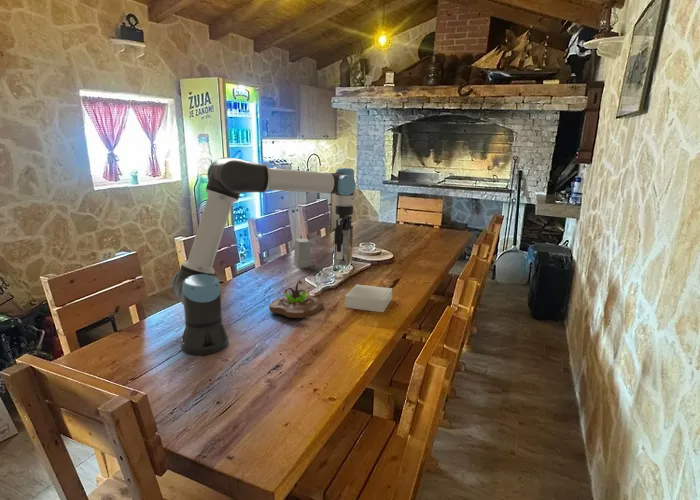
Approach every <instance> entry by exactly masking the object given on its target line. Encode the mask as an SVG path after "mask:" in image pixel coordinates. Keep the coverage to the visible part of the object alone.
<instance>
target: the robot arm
mask: <svg viewBox="0 0 700 500" xmlns="http://www.w3.org/2000/svg"><path fill="white" fill-rule="evenodd" d="M207 179H208V180H207V184H206V187H205V192H206V193H207V198H206V201H205V205H204V208H203V212H202V214H201V218H200V220H199V224H198V227H197V229H196V232H195V237H194V240H193V243H192V245H191V246H192V247H191V248H190V252H189V256H188V259H187V260H185V261H183V262H181V266H180V269H179V271H178V272H176V274H175V275H174V277H173V279H172V285H171V286H172V290H173V294H174V296H175V297H176V299H178V300H179V301H180V303H181V304H182V305H183V310H184V321H185V322H184V323H185V327H184V331H183V333H182V339H181V342H180V343H181V350H182V351H183V352H184V353H186V354H189V355H194V356H203V355H205V356H206V355H210V354H213V353H217V352H220V351H222V350H223V349H225V348H226V347H227V346H228V344H229V335H228V333H227V331H226V328H225V325H224V322H223V316H222V315H223V313H222V295H221V293H222V287H221V283H220V280H219V278H217V276H215V273H216V271H215V269H214V268H213V265H214V261H215V259H216V255H217V253H218V249H219V246H220V243H221V241H222V237H223V234H224V231H225V227H226V224H227V222H228V219H229V215H230V213H231V209H232V207H233V204H234V203H235V202H238V201H239V198H240V196H241V194H243V193H246V194H248V193H262V194H263V193H266V192H267V191H284V192H299V193H315V194H330V195H335V214H336V215H339V217H338V219H336V221H335V225H336V226H335V228H336V233H335V242H334V241H333V245H334V244H336V259H343V244H342V242H343V233H342V229H346V227H350V226H352V215H353V214H354V206H353V205H354V200H356V199H355V197H354V193H355V190H356V180H355V170H354V169H353V168H352V167H351V168H350V167H337V168H336V170H335V172H320V171H319V172H318V171H309V170H308V171H307V170H300V169H299V170H297V169H288V168H275V167H268V166H267V164H264V163H257V162H254V161H248V160H245V159H241V158H233V157H229V156H228V157H225V156H224V157H220V158H217V159H216V160H214V161H213V162H211V164H210V165H209V167H208V170H207ZM338 240H339V241H338Z"/></svg>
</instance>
